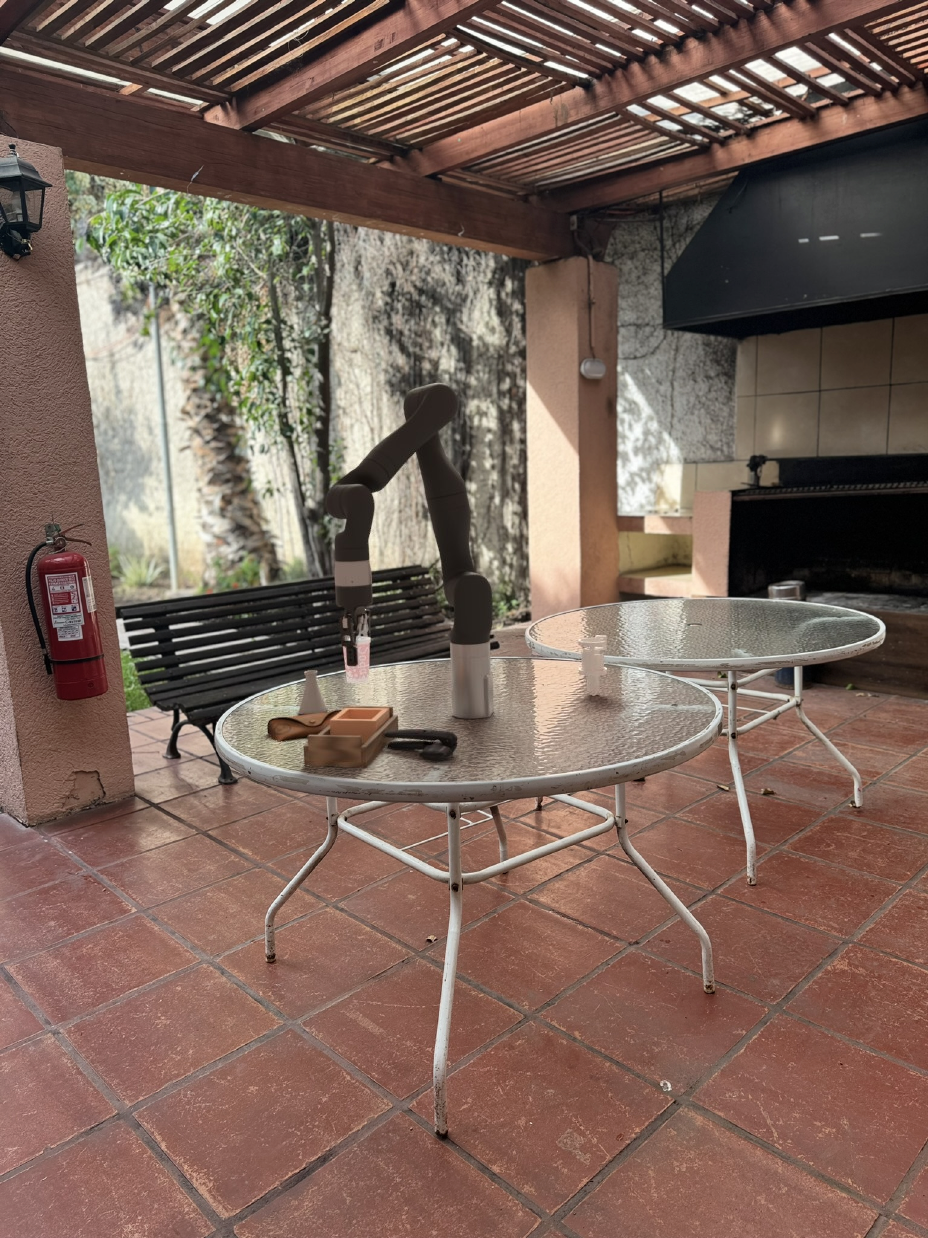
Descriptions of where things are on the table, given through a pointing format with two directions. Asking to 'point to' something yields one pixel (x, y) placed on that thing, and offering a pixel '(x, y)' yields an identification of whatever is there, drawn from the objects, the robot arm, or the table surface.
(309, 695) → the flask
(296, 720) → the sunglasses case
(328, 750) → the bay
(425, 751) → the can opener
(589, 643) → the white plastic upright piece
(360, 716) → the box
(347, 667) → the beverage cup
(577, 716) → the table surface
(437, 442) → the robot arm
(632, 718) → the table surface
